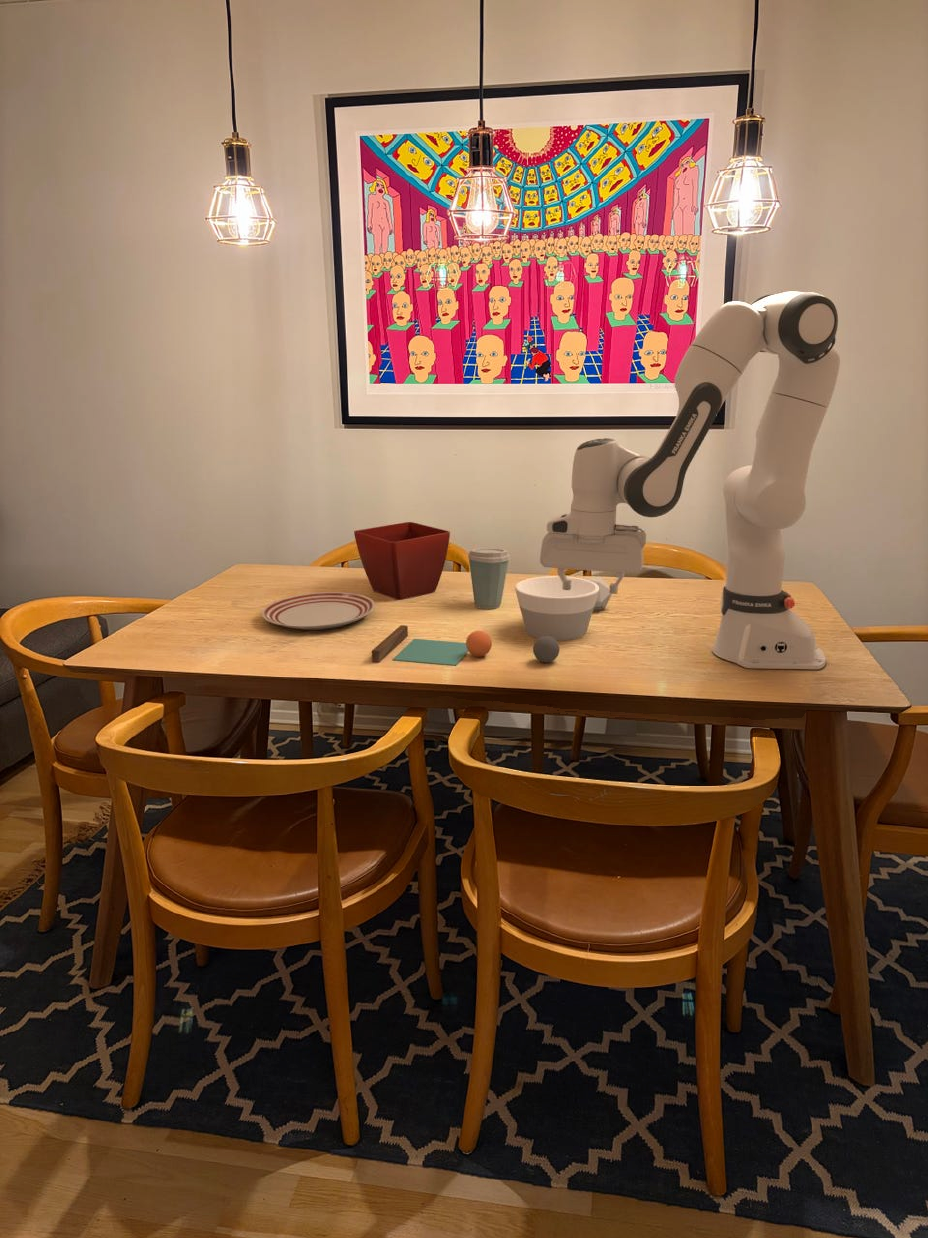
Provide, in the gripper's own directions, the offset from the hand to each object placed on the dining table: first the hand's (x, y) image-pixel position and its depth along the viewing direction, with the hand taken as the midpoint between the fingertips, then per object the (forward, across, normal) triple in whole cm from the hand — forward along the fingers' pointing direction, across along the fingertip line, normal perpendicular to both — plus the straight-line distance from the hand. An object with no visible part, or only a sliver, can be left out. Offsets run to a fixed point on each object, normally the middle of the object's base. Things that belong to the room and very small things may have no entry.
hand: (589, 591), depth 169 cm
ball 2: (+13, +8, +1) cm, 15 cm away
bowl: (+16, +11, -20) cm, 28 cm away
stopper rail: (+16, +43, +2) cm, 46 cm away
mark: (+16, +33, +2) cm, 37 cm away
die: (+16, +6, -40) cm, 44 cm away
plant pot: (+16, +58, -42) cm, 73 cm away
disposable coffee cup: (+16, +32, -35) cm, 50 cm away
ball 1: (+13, +23, +1) cm, 26 cm away
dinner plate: (+17, +69, -14) cm, 72 cm away
